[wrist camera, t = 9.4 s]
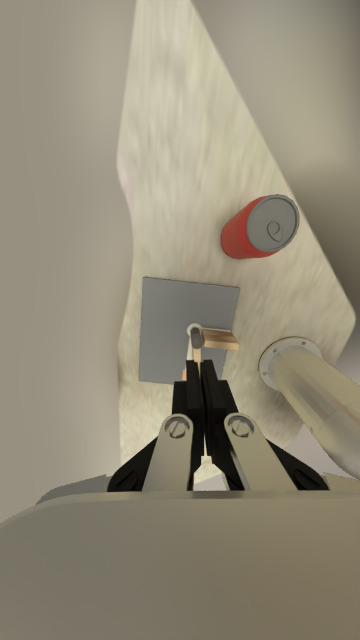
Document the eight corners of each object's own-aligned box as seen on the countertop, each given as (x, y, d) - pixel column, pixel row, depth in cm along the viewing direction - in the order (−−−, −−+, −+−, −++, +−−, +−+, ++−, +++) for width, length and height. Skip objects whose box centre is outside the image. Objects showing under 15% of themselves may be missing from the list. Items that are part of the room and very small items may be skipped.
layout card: (238, 287, 33) (240, 288, 32) (217, 386, 40) (218, 389, 39) (144, 276, 33) (142, 277, 32) (139, 378, 39) (138, 381, 38)
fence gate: (190, 327, 34) (191, 339, 29) (199, 326, 34) (202, 338, 29) (191, 377, 37) (192, 396, 32) (200, 376, 37) (202, 395, 32)
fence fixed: (230, 331, 35) (239, 344, 29) (229, 337, 35) (237, 350, 30) (201, 328, 34) (205, 340, 29) (200, 334, 35) (204, 346, 30)
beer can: (232, 266, 32) (259, 269, 20) (212, 233, 30) (230, 216, 19) (265, 243, 31) (315, 232, 19) (247, 207, 29) (288, 172, 18)
